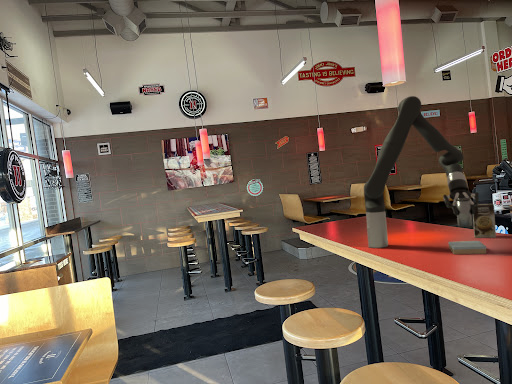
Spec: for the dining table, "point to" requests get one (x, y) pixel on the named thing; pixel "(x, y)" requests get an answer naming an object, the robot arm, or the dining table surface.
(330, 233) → the dining table surface
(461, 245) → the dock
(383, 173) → the robot arm
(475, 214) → the coffee box
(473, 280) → the dining table surface
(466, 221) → the canister
